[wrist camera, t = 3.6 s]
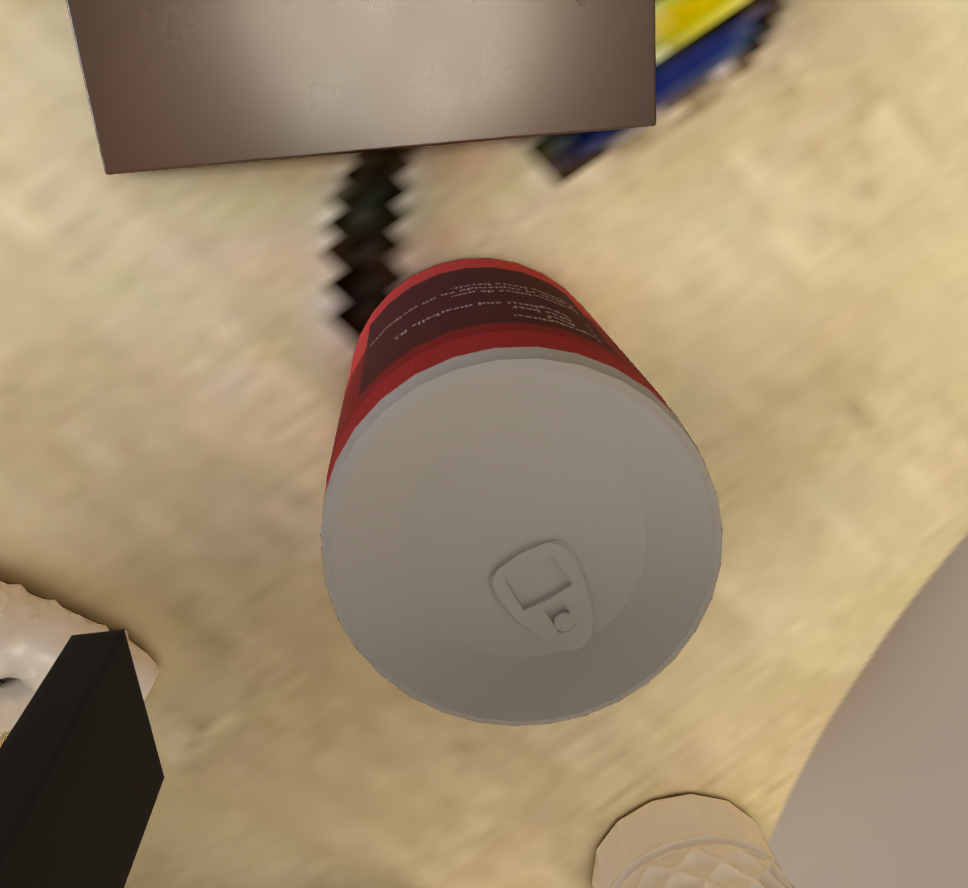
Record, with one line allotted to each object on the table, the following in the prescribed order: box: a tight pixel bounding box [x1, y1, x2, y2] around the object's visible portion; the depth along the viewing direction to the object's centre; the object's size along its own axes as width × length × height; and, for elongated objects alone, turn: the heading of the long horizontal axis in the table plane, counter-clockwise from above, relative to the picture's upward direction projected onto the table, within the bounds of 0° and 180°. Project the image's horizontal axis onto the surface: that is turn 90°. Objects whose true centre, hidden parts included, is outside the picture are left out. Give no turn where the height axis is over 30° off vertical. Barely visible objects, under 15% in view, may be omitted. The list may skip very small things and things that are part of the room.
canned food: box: [320, 258, 723, 726], centre depth 22 cm, size 8×8×11 cm
